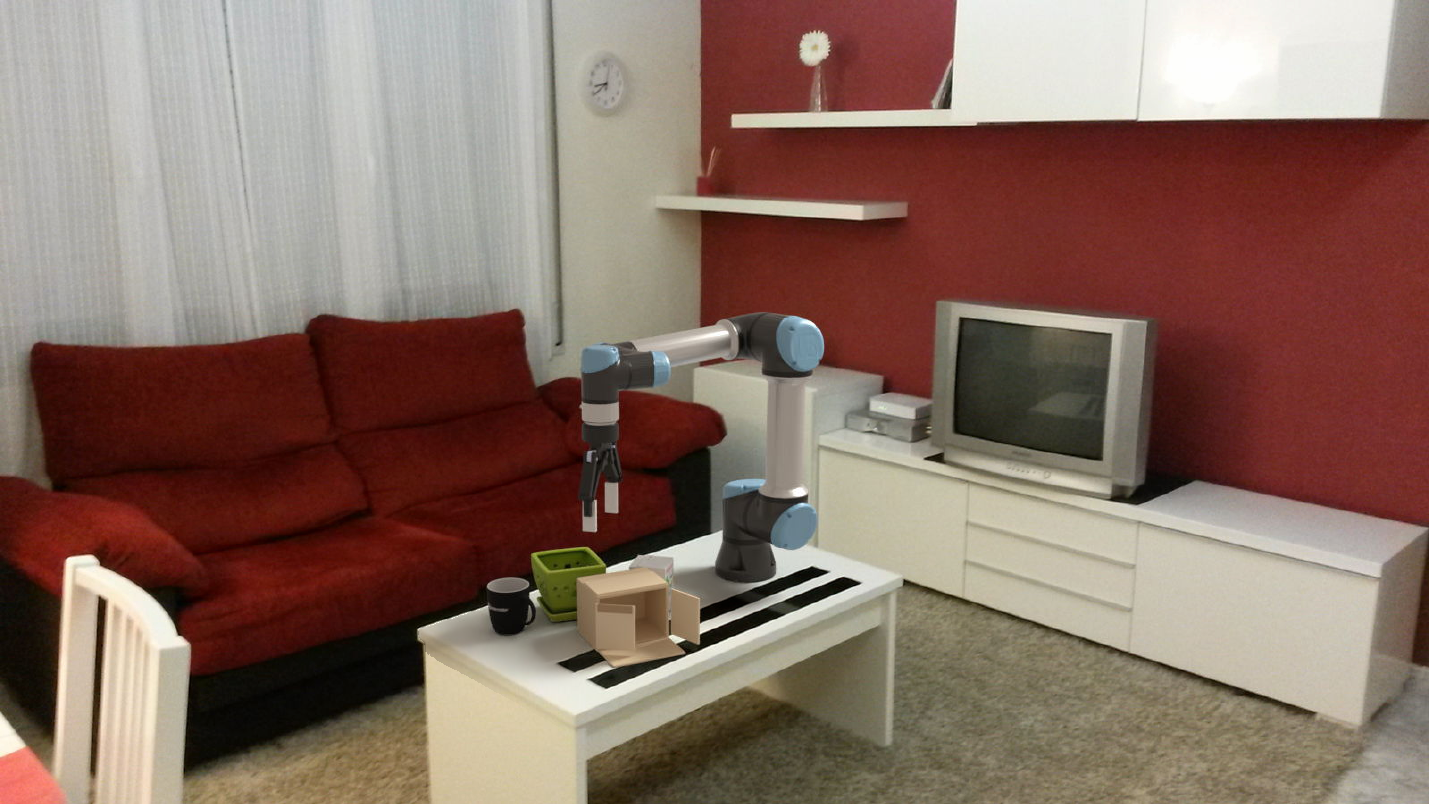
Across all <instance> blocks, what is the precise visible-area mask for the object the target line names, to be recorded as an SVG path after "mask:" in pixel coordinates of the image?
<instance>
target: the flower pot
mask: <svg viewBox="0 0 1429 804" xmlns="http://www.w3.org/2000/svg"><path fill="white" fill-rule="evenodd" d="M530 559H531V560H530V561H531V569H532V574H533V577H534V581H535V585H536V588H537V590H538V593H540V596H537V597H536V600H537V603H538V604H539V605H540V607H541V608H542V611H543V612H544V613H545V614H546V616H547V617H548V619H550V620H551V622H554V623H559V622H564V621H565V622H566V621H573V620H577V578H580V577H586V576H593V575H599V574H605V573H607V565H606V563H604V561H603V560H602V559H601V557H599V556H598V555H597V554H596V553H595V552H594V551H593V550H592V549H591V548H589V547H588V546H581V547H569V548H562V549H560V548H559V549H551V550H545V551H537V552H533V553H531V554H530ZM577 563H578V564H577ZM555 565H556V566H555ZM567 565H570V568H566V566H567Z"/></svg>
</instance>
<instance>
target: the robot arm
mask: <svg viewBox="0 0 1429 804" xmlns="http://www.w3.org/2000/svg"><path fill="white" fill-rule="evenodd" d="M824 342H825V341H824V336H823V334H822V333H821V330H820V329H819V327H817V325H816V324H815V323H814V322H812V321H811V320H809V319H806V318H803V317H800V316H798V315H797V316H796V315H788V314H780V313H774V312H769V311H760V312H759V311H758V312H754V313H753V312H752V313H747V314H743V315H742V314H741V315H738V316H733V317H728V318H722V319H720V320H718V321H717V322H716V323H715V324H714V325H710V326H709V325H708V326H704V327H698V328H693V329H688V330H681V331H676V332H672V333H666V334H660V335H656V336H655V335H654V336H650V337H644V338H638V339H633V340H628V341H621V342H617V343H609V342H596V343H593V344H592V345H588V346H585V347H584V348H583V349H582V351H581V358H580V369H579V370H580V373H581V374H580V376H581V377H580V379H581V383H580V384H581V404H580V405H579V409H580V410H581V420H582V421H583V422H582V423H581V439H582V441H583V442H585V443H588V444H589V449H588V451H587V450H584V451H583V458H582V461H583V462H582V469H581V474H580V475H581V476H580V481H579V489H578V496H577V500H578V501H579V502H580V501H582V532H590V533H596V532H597V531H598V529H597V528H598V522H597V521H598V520H597V519H598V517H597V513H598V511H597V504H598V503H597V499H596V495H597V489H598V485H599V483H600V481H599V480H600V477H601V473H602V472H603V474H604V477H605V480H606V481H605V482H604V513H611V514H618V513H619V483H622V482H623V477H622V475H623V473H622V467H621V462H620V456H619V452H618V446H617V442H618V440H619V438H620V436H619V435H620V434H619V433H620V431H619V429H620V428H619V427H620V425H619V423H618V421H619V419H620V408H619V406H620V402H619V397H620V396H619V392H622V391H624V392H625V391H630V390H640V389H649V388H651V389H654V388H656V387H658V388H659V387H663V386H665V385H666V384H667V383H668V382H669V380H670V378H671V372H672V371H671V369H672V368H674V367H679V366H680V367H681V366H685V365H690V364H694V363H700V362H704V361H705V362H706V361H710V360H714V359H719V358H720V359H721V358H722V359H723V360H725V361H733V360H737V359H740V360H741V359H743V360H752V361H756V362H760V363H761V376H763V378H764V379H765V380H766V381H767V404H766V405H767V406H766V407H767V410H766V412H767V413H766V414H767V415H766V449H765V478H746V479H745V478H744V479H737V480H733V481H732V480H731V481H729V482H727V483H726V484H725V485H724V486H723V489H722V498H721V500H722V504H721V505H722V513H721V514H722V529H721V530H722V536H721V537H722V538H721V539H722V540H721V545H720V547H719V550H718V553H717V556H716V558H715V561H714V572H715V574H716V576H718V577H719V578H722V579H724V580H729V581H733V582H739V583H740V582H743V583H744V582H745V583H747V582H751V583H753V582H761V581H765V580H769V579H771V578H773V577H774V576H775V575H777V561H776V558H775V555H774V552H773V548H772V545H773V546H774V547H775V548H778V549H784V550H787V551H795V550H796V551H797V550H799V549H801V548H803V547H804V546H806V544H808V543H809V542H810V540H811V539H812V538H813V536H814V535H815V533H816V530H817V527H818V520H819V519H818V514H817V511H816V509H815V508H814V507H813V505H811V504H810V503H809V489H808V488H807V487H806V486H805V485H804V484H803V474H804V473H803V472H804V470H803V469H804V444H805V443H804V442H805V441H804V439H805V438H804V437H805V436H804V435H805V414H806V413H805V410H806V409H805V408H806V384H807V382H808V381H810V380H811V378H812V377H813V370H814V369H816V367H817V366H819V364H820V361H821V360H822V358H823V356H824V352H825V343H824Z"/></svg>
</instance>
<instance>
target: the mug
mask: <svg viewBox="0 0 1429 804" xmlns="http://www.w3.org/2000/svg"><path fill="white" fill-rule="evenodd" d="M530 588H531V587H530V583H529V581H528V580H526V579H524V578H520V577H502V578H497V579H494V580H491V581H490V582H488V583H487V585H486V599H487V607H488V615H489V619H490V623H491V624H490V625H491V627H492V630H494V632H495V633H496V634H497V635H502V636H511V635H512V636H514V635H517V634H520V633H522V632H523V631H524V630H525V629H526V626H530V625H531V624H533V623H534V621H535V620H536V617H537V609H536V605H535V603H534V602H533V601H532V599H531V598H530V594H531V593H530V592H531V591H530ZM529 609H530V612H531V617H530V620H529V621H528V619H529V618H528V616H529Z"/></svg>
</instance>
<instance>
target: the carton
mask: <svg viewBox="0 0 1429 804" xmlns="http://www.w3.org/2000/svg"><path fill="white" fill-rule="evenodd" d="M596 603H601V604H617V605H633V606H635V651H623V650H608V649H596ZM700 617H701V598H700V597H699V596H698V597H697V596H695V595H692V594H689V593H687V592H685V591H684V592H683V591H681V590H678V589H675V588H674V587H673V588H672V589H671V610H670V611H669V584H668V583H667V582H666V581H665V580H664V579H662V578H661V577H660V576H658V575H657V574H656V573H654V572H653V571H651V570H649V569H648V568H647V567H643V568H636V569H630V570H629V569H625V570H618V571H613V572H606V573H605V574H599V575H593V576H586V577H580V578H577V619H576V621H577V626H576V627H577V632H578V633H579V635H580V636H581V637H582V638H583V639H584V640H585V641H586V642H587V643H588V644H589V645H590V646H591V647H592V649H594V650H595V651H596V652H597V653H599V654H600V656H602V657H603V658H604V660H605V661H607V663H609V665H610V666H611V667H612V668H614V669H616V668H621V667H625V666H631V665H635V664H641V663H646V662H651V661H655V660H661V659H666V658H671V657H675V656H680V655H681V656H682V655H685V654H686V652H685V650H684V649H683V648H681V647H680V646H679V645H678V644H677V643H675V641H673V640H672V639H671V638H670V634H671V635H672V636H675V637H677V638H680V639H683V640H685V641H688V642H691V643H693V644H695V645H697V646H698V645H700V644H701V640H700V639H701V638H700V637H701V633H700V631H701V628H700V626H701V618H700Z"/></svg>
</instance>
